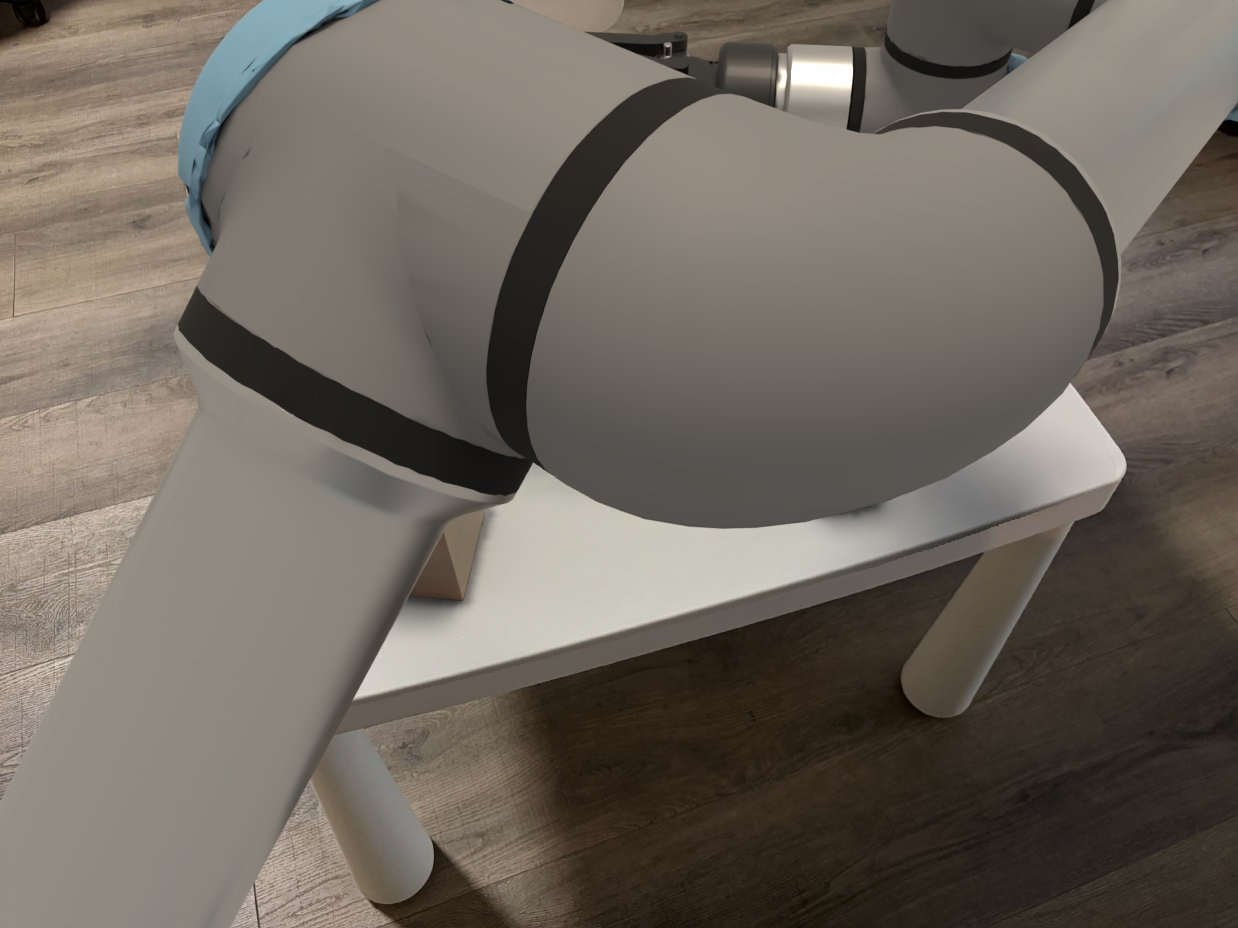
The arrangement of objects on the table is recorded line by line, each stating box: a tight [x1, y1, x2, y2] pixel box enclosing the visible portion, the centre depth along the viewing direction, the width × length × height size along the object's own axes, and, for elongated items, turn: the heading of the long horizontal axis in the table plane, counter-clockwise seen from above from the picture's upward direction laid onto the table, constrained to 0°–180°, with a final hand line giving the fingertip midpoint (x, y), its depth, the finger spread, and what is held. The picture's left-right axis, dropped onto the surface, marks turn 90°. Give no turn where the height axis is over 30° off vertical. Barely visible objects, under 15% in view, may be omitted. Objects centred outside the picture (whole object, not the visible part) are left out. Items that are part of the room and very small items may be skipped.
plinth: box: [409, 509, 485, 601], centre depth 69 cm, size 8×8×12 cm
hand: (427, 89), depth 63 cm, fingers closed on block, 5 cm apart
